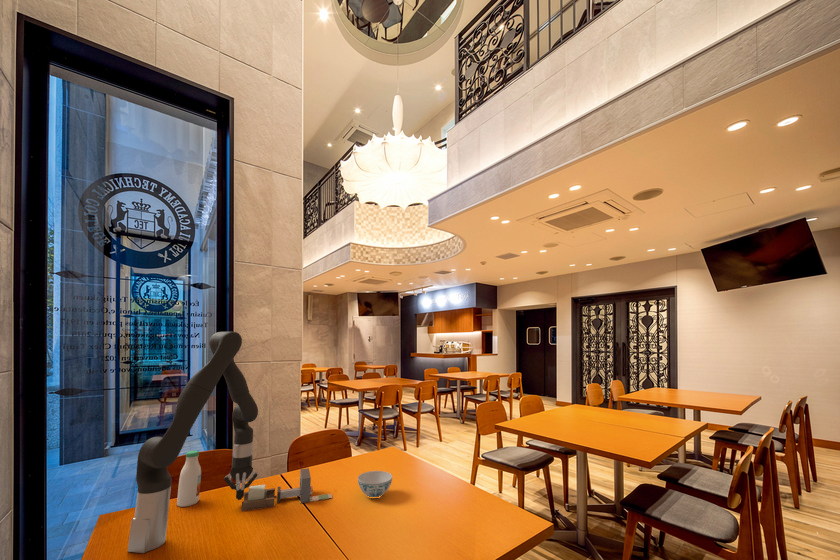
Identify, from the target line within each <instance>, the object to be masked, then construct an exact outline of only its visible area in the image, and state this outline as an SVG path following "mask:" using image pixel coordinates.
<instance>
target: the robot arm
mask: <svg viewBox="0 0 840 560" xmlns="http://www.w3.org/2000/svg"><path fill="white" fill-rule="evenodd" d="M242 344H243V338H242V335H241V334H240V333H238V332H237V331H218V332H215V333H213V335H211V336H210V339H209V349H210V351H211V353H212V357H211V358H210V360H209V361H208V362H207V363H206V364H205V365H204V366H203V367H202V368H201V369H199V370H198V371H197V372H196V373H195V374H193V376H192V377H191V378H190V379H189V380H188V381H187V383H186V385H185V386H184V388H183V389H182V391H181V392H180V394H179V396H178V398H177V401H176V406H175V412H174V416H173V419H172V422H171V423H170V426H169V427H168V428H167V430H166V431H165V433H164V435H162V436H154V437H150V438H149V439H147V440H146V441H144V443H142V445H141V447H140V449H139V451H138V456H137V463H136V477H135V479H136V485H137V494H136V501H135V510H134V517H133V518H132V519H131V520H130V529H129V537H128V545H127V547H128V548H127V552H129V553H138V554H145V553H147V552H149V551H152V550H155V549H158V548H160V547H162V546H163V545H164V544H165V543H166V538H167V529H168V527H167V526H168V518H169V509H170V499H171V491H172V489H171V488H172V482H173V481H172V480H173V479H172V475H171V474H170V472H169V470H168V467H170V466H171V465H172V464H173V463H174V462H175V461H176V460H177V458H178V457H179V455H180V453H181V451H182V449H183V447H184V445H185V442H186V440H187V438H188V436H189V434H190V432H191V430H192V428H193V427H194V424H195V422H196V421H197V419H198V417H199V415H200V413H201V412H202V410H203V408H204V407H205V405H206V404H207V402H208V400H209V398H210V397H211V395H212V394H213V391H214V390H215V388H216V386H217V385H218V383H219V381H220V380H221V378H222V375H223V377H224V379H225V382H226V383H225V384H226V386H227V389H228V392H229V396H230V399H231V401H232V402H233V403H235V404H236V406H235V407H234V409H233V411H232V413H231V414H232V416H231V418H232V424H233V431H234V439H233V440H234V442H233V448H232V460H231V470H229V471H230V472H229V473H228V474H227V475H225V476H224V478H223V479H224V482H225V483H226V484H227V485H228V486H229V488H230V489H231V490H232V491H233V490H235V499H237V501H241V500H243V499H244V493H245V489H247V488H248V489H249V487H250V486H252V483H253V482H254V481H255V480H256V478H257V477H258V475H259V472H257V471H255V470H254V468H253V453H254V443H253V442H254V429H253V428H252V427H251V426H250V425H249V423H252V422H254V421H256V419H257V417H258V415H259V408H258V405H257V403H256V402H255V400H254V397H253V396H252V394H251V393H250V391H249V386H248V382H247V379H246V378H245V376H244V374H243V373H242V371H241V369H240V368H239V367H238V365H237V364H236V362H235V360H234V358H235V356H237V354H238V352H239V351H240V349H241V347H242ZM249 477H250V478H249ZM248 478H249V479H248ZM247 479H248V481H247V482H246V480H247ZM234 481H235V483H234Z"/></svg>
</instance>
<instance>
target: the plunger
mask: <svg viewBox="0 0 840 560" xmlns="http://www.w3.org/2000/svg"><path fill="white" fill-rule="evenodd" d="M313 491H314V488H313V485H310V495H313ZM300 493H301V487H300V486H299V487H295V488H286V489H282V487H281V485H280V486H277V493H276V494H277V495H276V503H277V504H278V503H281V499H286V498H294V497H300Z"/></svg>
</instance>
